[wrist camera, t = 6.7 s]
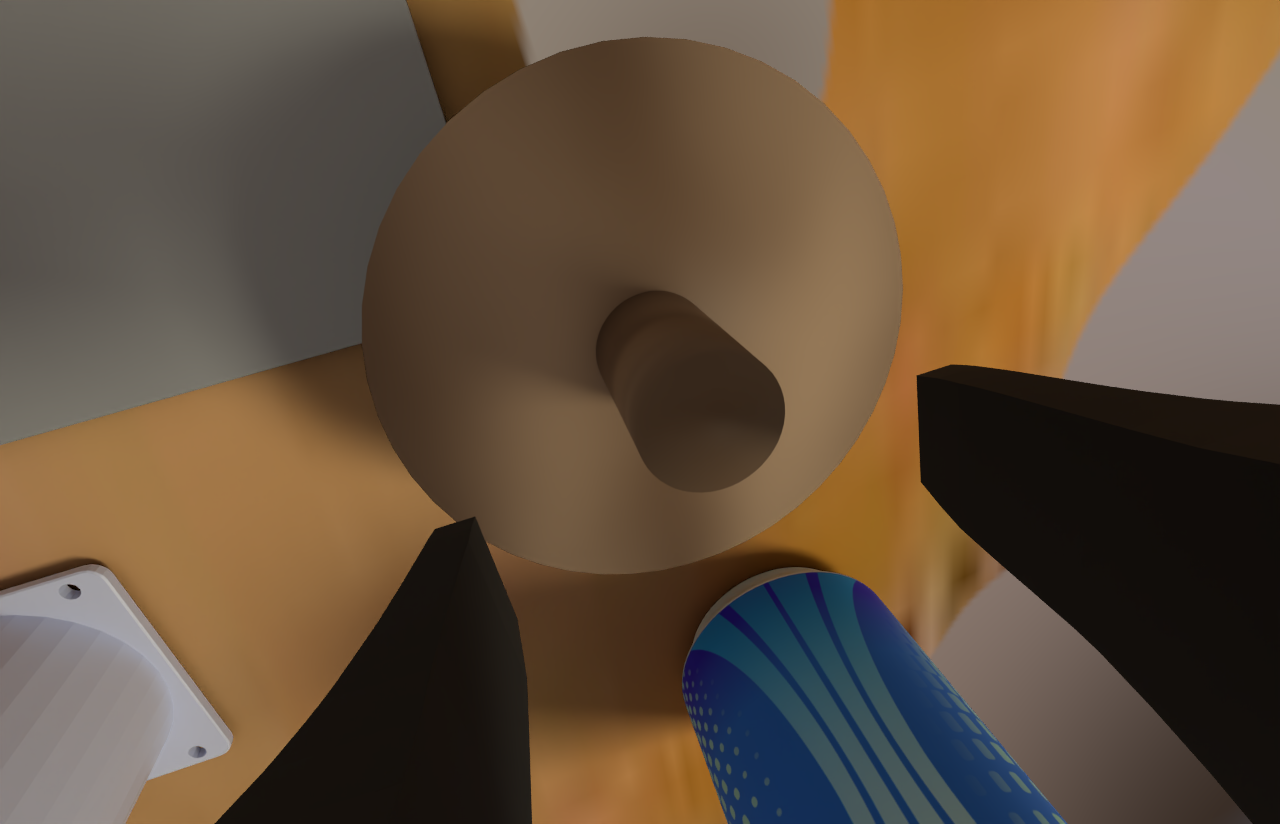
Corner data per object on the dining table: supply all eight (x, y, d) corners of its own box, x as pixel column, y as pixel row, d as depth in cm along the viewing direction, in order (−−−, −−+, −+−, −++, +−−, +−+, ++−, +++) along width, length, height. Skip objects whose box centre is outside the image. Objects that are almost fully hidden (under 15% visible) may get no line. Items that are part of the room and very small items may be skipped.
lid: (499, 620, 18) (507, 782, 13) (248, 160, 12) (126, 184, 8) (909, 455, 18) (1040, 558, 14) (842, -43, 13) (1022, -118, 9)
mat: (-22, 447, 17) (-32, 454, 17) (-574, -266, 11) (-610, -279, 11) (503, 299, 19) (504, 303, 18) (275, -402, 13) (269, -418, 12)
